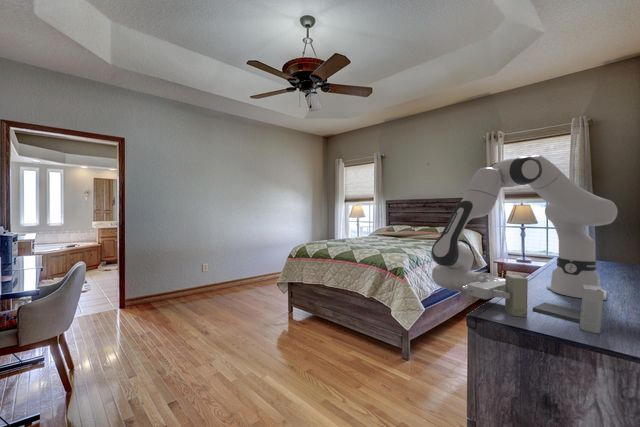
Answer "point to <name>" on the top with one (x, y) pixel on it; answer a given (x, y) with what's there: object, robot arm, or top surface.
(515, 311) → the skincare box
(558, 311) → the charcoal mat
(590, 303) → the skincare box
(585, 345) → the top surface
